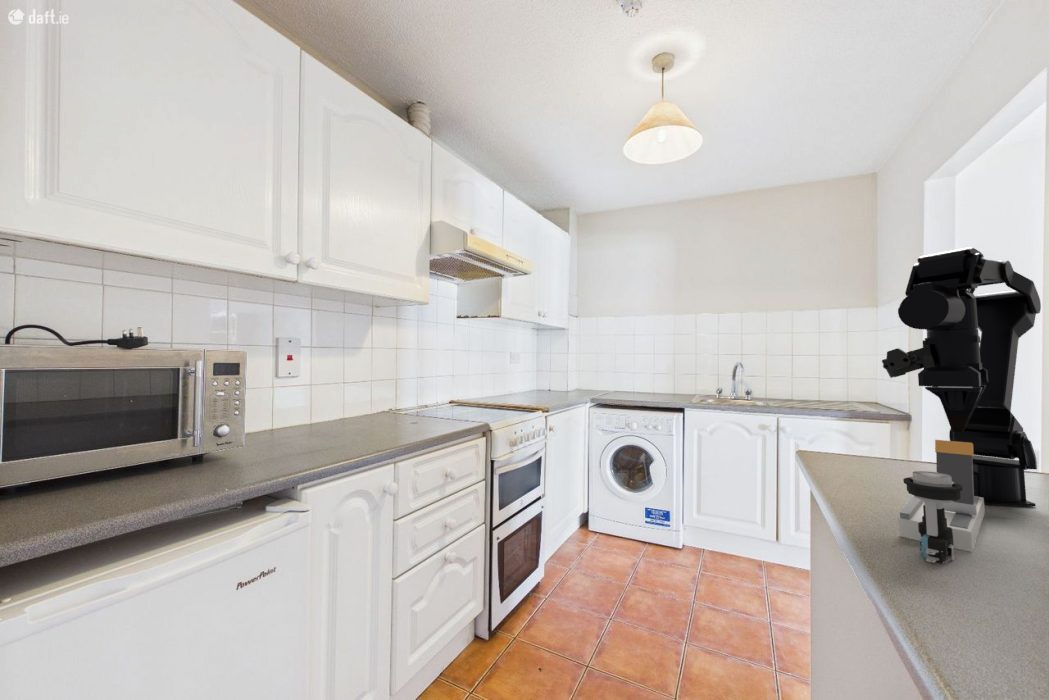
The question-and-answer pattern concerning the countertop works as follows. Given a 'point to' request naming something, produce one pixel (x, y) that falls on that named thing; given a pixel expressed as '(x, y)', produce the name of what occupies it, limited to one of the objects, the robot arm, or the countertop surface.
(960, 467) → the lever
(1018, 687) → the countertop surface
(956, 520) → the panel
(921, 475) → the push button
